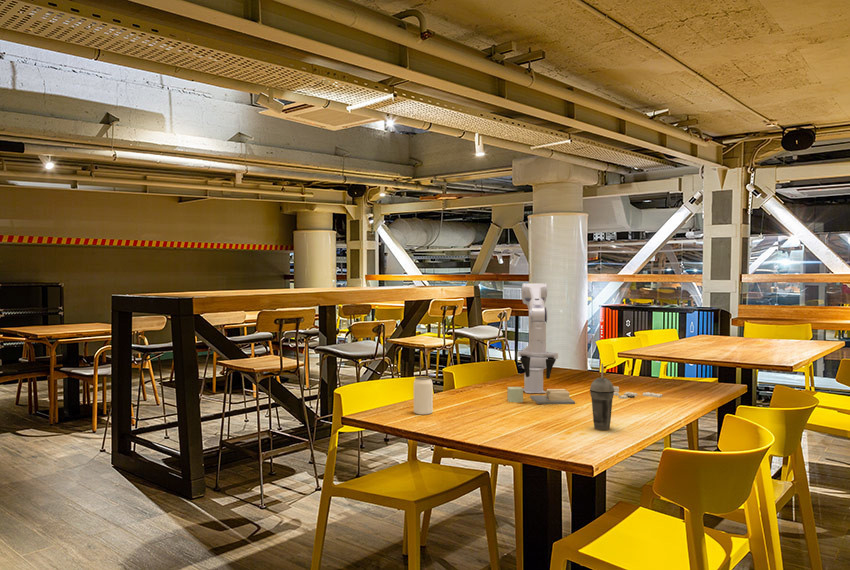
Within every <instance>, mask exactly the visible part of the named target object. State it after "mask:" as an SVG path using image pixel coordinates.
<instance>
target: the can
mask: <svg viewBox="0 0 850 570" xmlns="http://www.w3.org/2000/svg"><path fill="white" fill-rule="evenodd" d="M433 387H434V385H433V381H432V377H431V376H415V377H414V381H413V413H414V414H415V415H418V416H419V415H421V416H425V415H431V414H432V413H433V407H434V406H433V405H434V404H433V401H434V400H433V397H434V395H433V392H434V391H433V390H434V389H433Z"/></svg>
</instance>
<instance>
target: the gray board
mask: <svg viewBox="0 0 850 570" xmlns="http://www.w3.org/2000/svg"><path fill="white" fill-rule="evenodd" d="M529 398H530V399H531V400H532V402H534V401H535V402H536V403H537V404H536V403H535V402H534V403H535V404H536V405H575V404H576V401H575V400H574V399H572V398H570V397H569V400H557V401H550V400H549V399H548V398H547V397H546V394H545V395H544V394H543V395H540V394H539V395H534V394H533V395H532V394H531V395H529Z"/></svg>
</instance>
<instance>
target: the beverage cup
mask: <svg viewBox="0 0 850 570" xmlns="http://www.w3.org/2000/svg"><path fill="white" fill-rule="evenodd" d="M600 369H601V373H600V374H601V375H600V377H597V378H595V379H594V380H593V381H592V382H591V385H590V387H589V394H590V397H591V406H592V408H591V409H592V410H591V411H592V420H593V428H594V429H595V430H597V431H609V430H610V428H611V427H610V426H611V422H612V421H611V418H612V410H613V409H612V408H613V398H614V396H615V395H614V387H615V386H614V384H613V383H612V381H611V380H610V379H608V378H606V377H604V364H603V363H601V368H600ZM613 386H614V387H613Z"/></svg>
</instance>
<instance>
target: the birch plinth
mask: <svg viewBox="0 0 850 570" xmlns="http://www.w3.org/2000/svg"><path fill="white" fill-rule="evenodd" d="M545 392H546V393H545V395H546V397H547V398H548V399H549V400H550V401H557V400H569V398H570V391H568V390H567V389H565V388H562V389H561V388H546V390H545Z"/></svg>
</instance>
